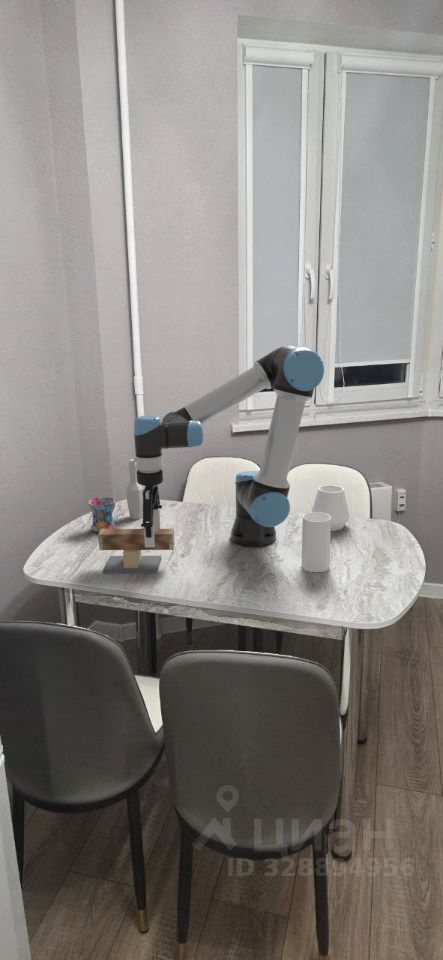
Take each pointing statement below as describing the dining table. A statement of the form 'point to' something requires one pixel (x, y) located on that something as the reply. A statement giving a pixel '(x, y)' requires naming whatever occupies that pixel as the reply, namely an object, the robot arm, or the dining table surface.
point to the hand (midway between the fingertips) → (153, 538)
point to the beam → (134, 539)
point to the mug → (102, 513)
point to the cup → (316, 542)
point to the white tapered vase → (332, 505)
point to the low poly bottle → (134, 493)
